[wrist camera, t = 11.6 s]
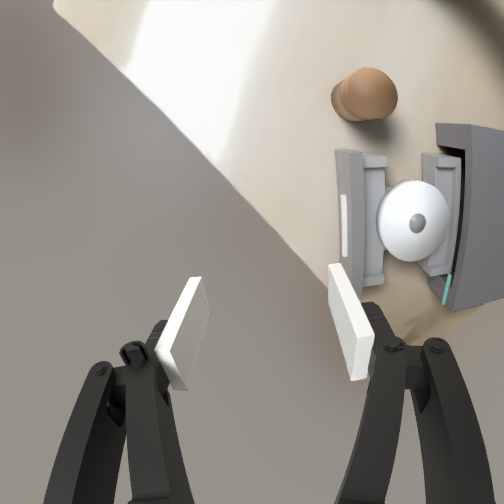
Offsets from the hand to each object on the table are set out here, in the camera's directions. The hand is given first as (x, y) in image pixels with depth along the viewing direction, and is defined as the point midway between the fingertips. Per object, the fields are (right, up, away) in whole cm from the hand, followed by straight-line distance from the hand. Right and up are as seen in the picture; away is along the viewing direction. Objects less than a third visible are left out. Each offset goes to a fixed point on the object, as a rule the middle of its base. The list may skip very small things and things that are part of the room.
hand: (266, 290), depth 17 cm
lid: (+15, +6, +8) cm, 18 cm away
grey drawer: (+14, +7, +10) cm, 19 cm away
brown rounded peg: (+9, +17, +6) cm, 20 cm away
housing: (+27, +8, +9) cm, 30 cm away
